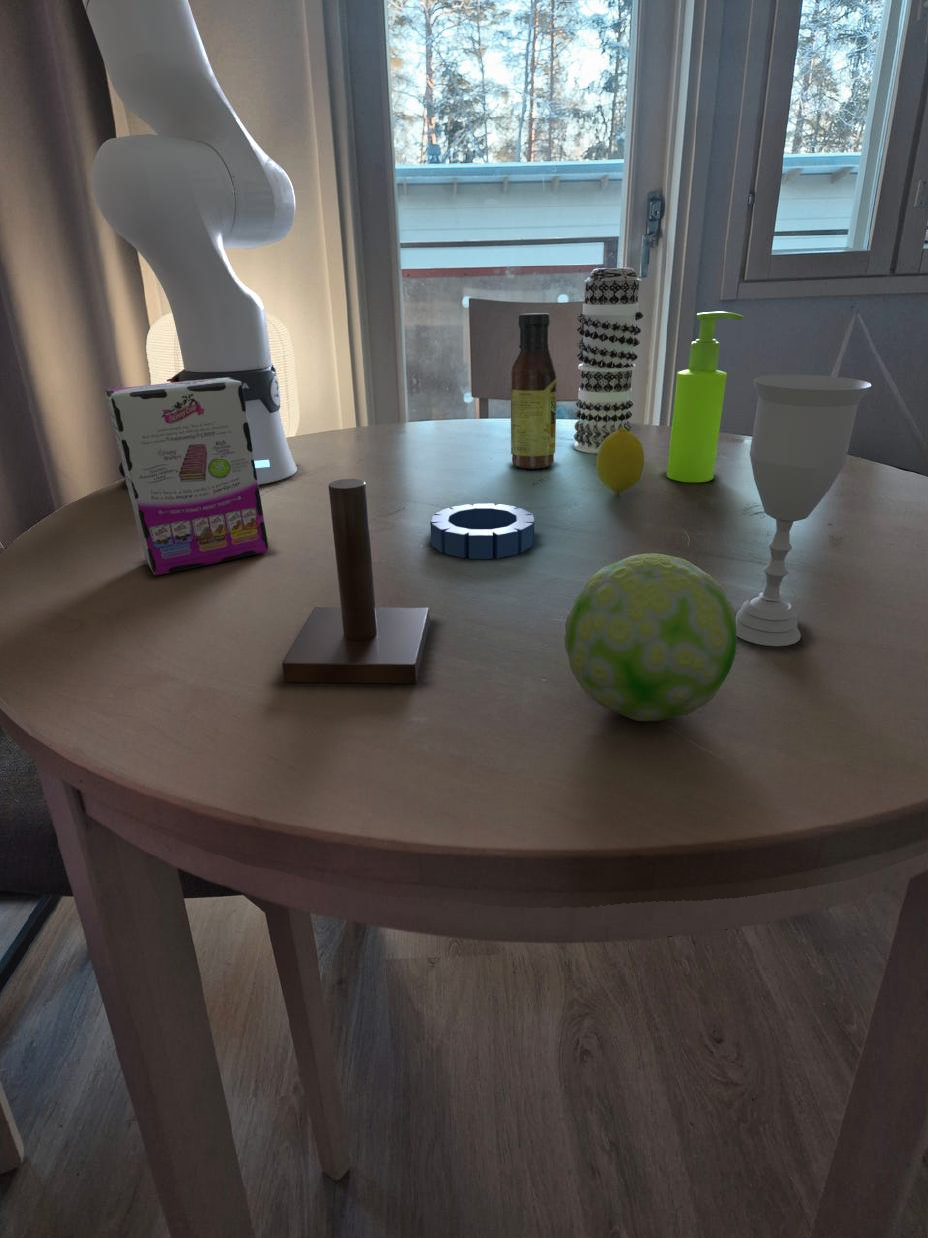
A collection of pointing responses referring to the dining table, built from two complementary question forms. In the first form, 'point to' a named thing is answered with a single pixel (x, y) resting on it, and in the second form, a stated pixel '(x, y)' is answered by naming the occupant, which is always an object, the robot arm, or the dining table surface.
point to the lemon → (620, 460)
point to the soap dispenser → (698, 407)
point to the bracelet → (482, 531)
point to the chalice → (794, 477)
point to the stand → (356, 613)
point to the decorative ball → (651, 637)
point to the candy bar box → (189, 471)
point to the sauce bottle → (533, 396)
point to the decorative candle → (606, 355)
